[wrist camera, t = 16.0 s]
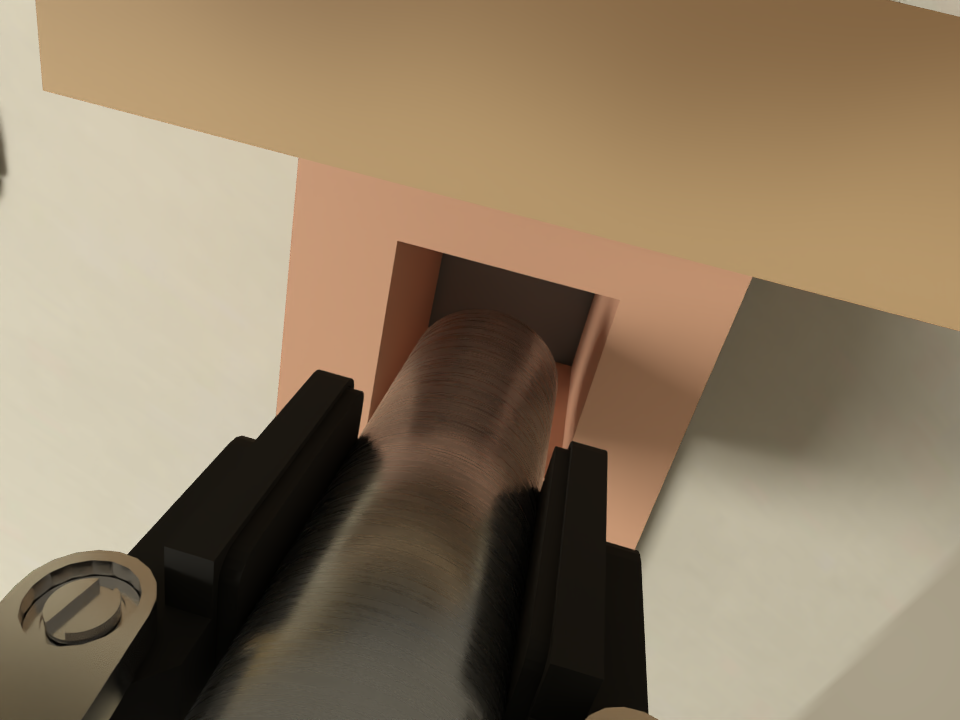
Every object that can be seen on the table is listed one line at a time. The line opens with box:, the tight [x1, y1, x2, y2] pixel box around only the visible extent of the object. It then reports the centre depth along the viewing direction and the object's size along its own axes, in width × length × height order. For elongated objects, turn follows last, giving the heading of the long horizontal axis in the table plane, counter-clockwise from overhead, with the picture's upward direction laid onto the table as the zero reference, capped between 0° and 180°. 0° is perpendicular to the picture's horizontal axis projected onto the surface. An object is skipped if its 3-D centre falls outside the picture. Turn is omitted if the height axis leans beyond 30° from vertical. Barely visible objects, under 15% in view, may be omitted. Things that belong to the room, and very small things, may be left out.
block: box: [276, 158, 752, 550], centre depth 17 cm, size 9×9×6 cm
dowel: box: [184, 309, 558, 720], centre depth 8 cm, size 3×3×12 cm
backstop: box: [35, 0, 960, 331], centre depth 12 cm, size 3×12×11 cm, turn 78°
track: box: [428, 253, 595, 366], centre depth 22 cm, size 25×12×1 cm, turn 168°
